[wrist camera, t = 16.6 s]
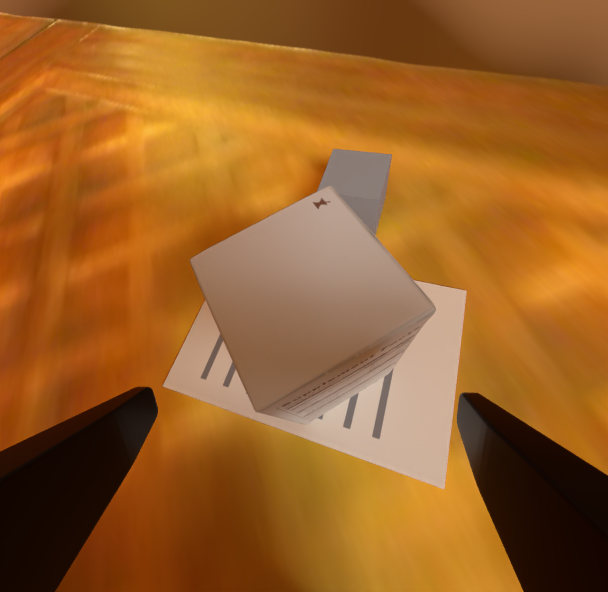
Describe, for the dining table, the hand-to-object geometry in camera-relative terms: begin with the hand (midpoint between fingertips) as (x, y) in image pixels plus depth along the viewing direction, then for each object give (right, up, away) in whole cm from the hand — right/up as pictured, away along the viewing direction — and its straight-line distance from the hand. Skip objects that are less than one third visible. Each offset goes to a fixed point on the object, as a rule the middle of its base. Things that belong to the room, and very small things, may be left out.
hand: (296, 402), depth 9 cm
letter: (+1, 0, +15) cm, 15 cm away
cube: (+5, +11, +20) cm, 23 cm away
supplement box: (+2, -2, +14) cm, 14 cm away
